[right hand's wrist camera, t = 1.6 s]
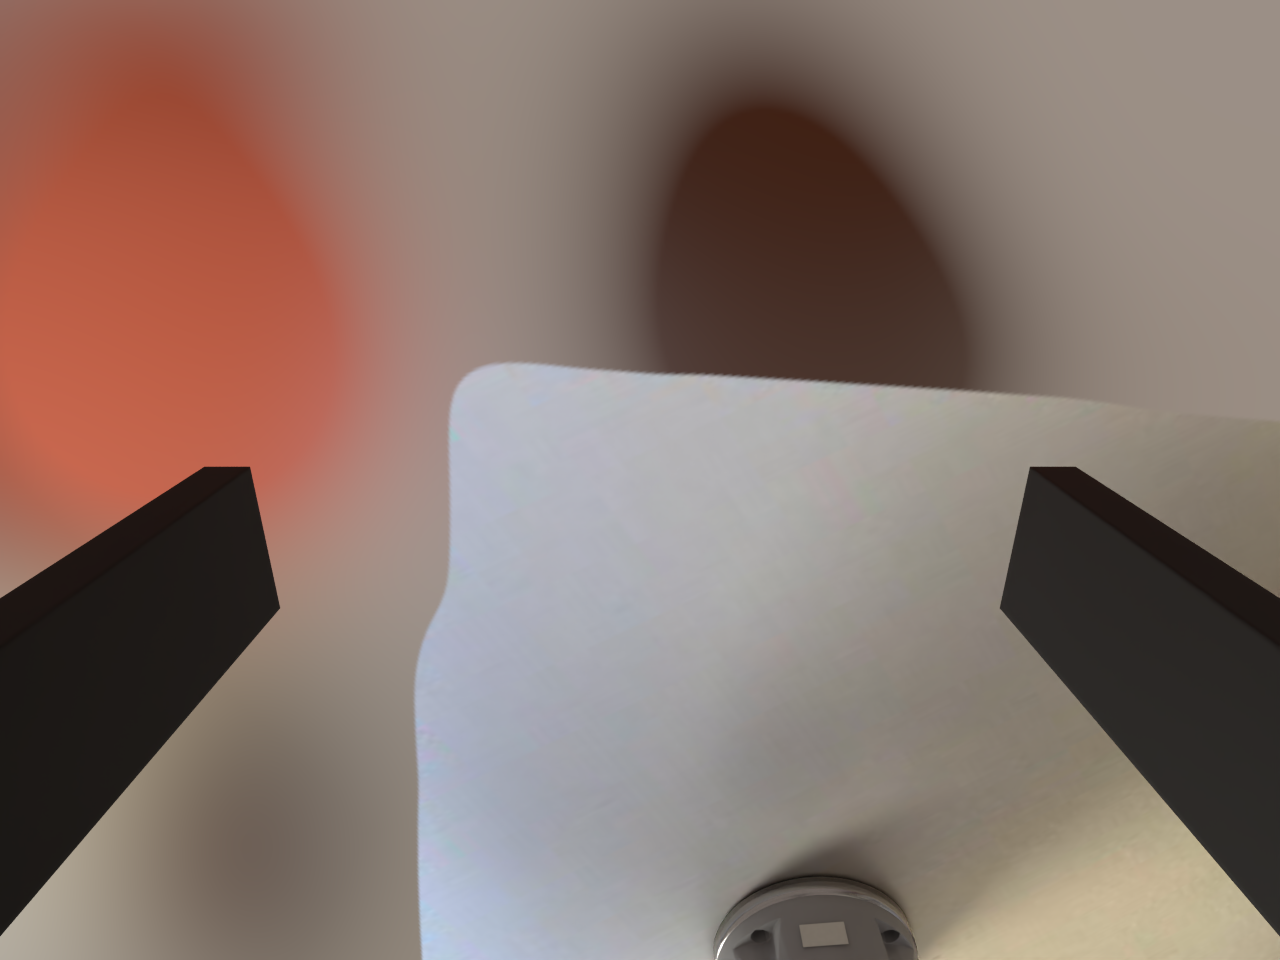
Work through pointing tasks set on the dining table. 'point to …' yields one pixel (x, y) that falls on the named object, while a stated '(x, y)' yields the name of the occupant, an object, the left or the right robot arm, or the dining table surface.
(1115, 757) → the dining table surface
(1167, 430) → the dining table surface
